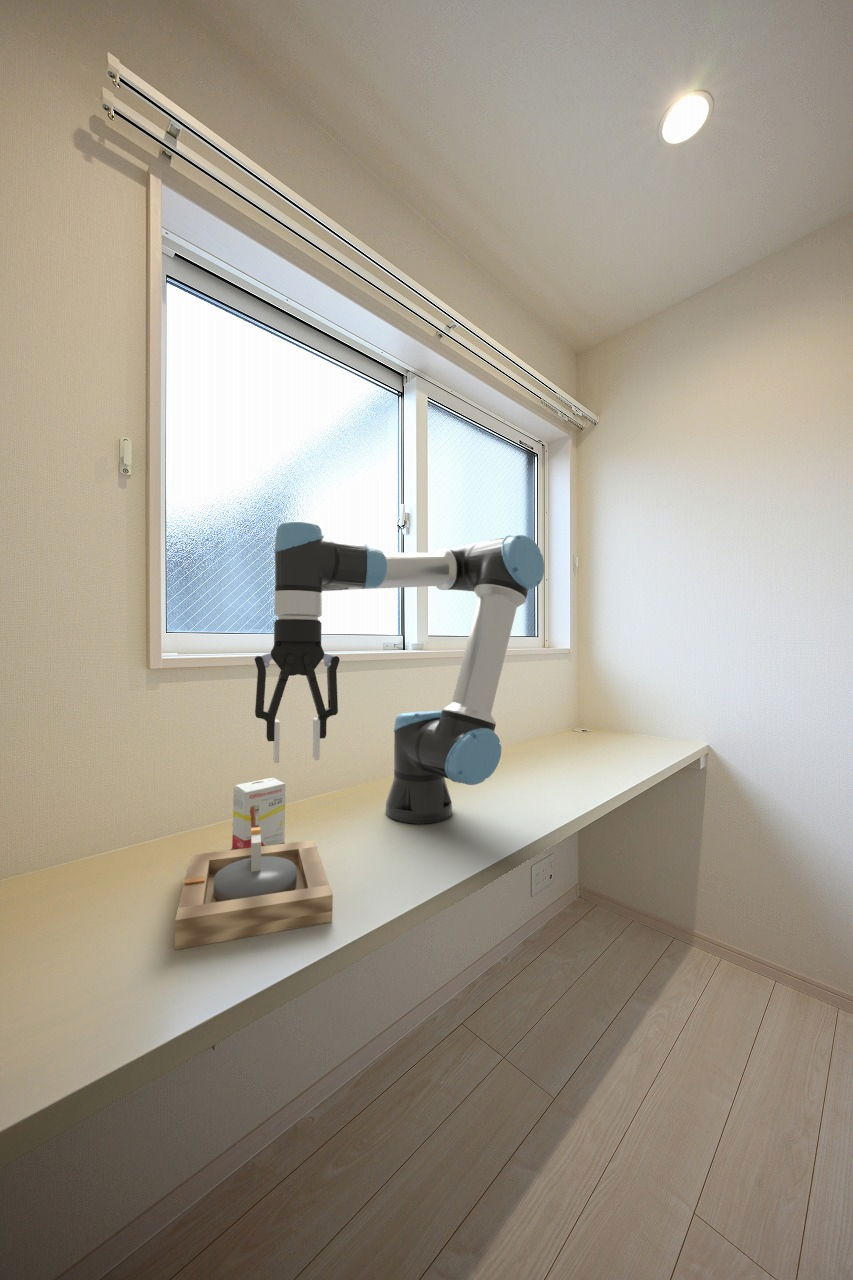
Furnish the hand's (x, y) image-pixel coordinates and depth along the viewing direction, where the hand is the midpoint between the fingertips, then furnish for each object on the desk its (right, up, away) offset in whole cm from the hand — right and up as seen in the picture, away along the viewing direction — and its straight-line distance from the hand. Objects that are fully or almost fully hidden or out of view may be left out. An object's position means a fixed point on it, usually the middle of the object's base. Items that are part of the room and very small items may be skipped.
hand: (296, 759), depth 83 cm
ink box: (-11, -20, +13) cm, 26 cm away
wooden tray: (-5, -20, -6) cm, 21 cm away
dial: (-5, -18, -6) cm, 20 cm away
